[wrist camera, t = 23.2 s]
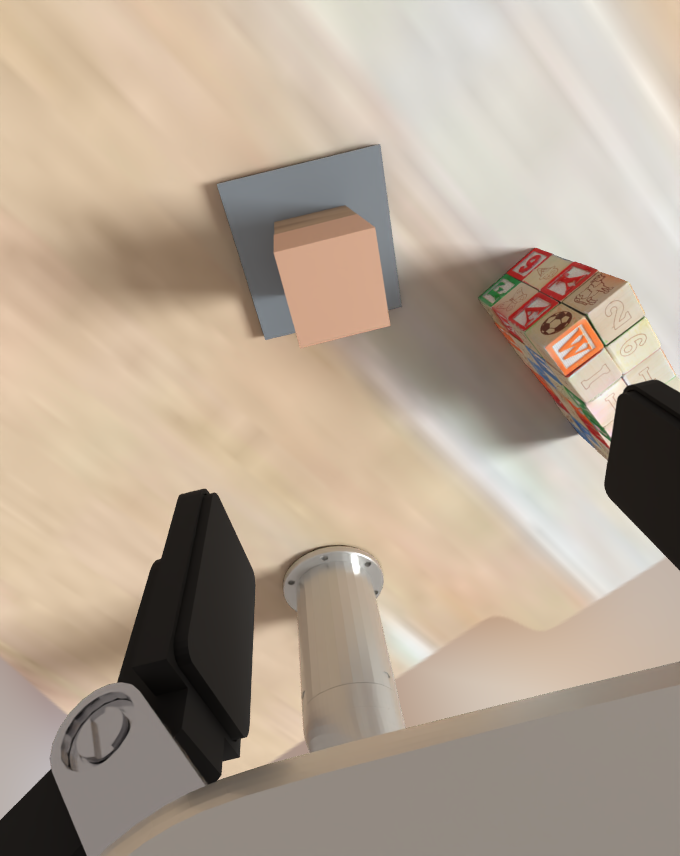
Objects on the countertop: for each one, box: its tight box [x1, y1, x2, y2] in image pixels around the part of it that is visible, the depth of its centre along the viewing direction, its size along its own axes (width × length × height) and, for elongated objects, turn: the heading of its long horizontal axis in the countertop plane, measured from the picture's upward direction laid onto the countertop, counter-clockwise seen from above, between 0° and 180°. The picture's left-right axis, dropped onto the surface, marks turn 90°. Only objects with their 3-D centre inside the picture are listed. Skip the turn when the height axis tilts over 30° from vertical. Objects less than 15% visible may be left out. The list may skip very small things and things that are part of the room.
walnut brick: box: [274, 205, 356, 235], centre depth 33 cm, size 6×6×6 cm
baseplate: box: [217, 144, 402, 340], centre depth 36 cm, size 12×12×1 cm
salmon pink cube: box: [274, 214, 390, 348], centre depth 28 cm, size 6×6×6 cm
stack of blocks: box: [478, 248, 680, 460], centre depth 39 cm, size 21×6×12 cm, turn 42°
